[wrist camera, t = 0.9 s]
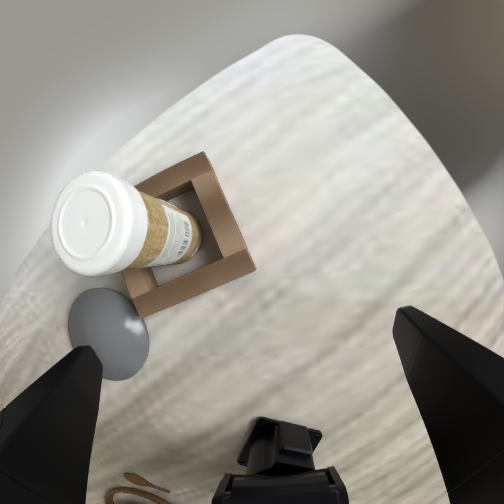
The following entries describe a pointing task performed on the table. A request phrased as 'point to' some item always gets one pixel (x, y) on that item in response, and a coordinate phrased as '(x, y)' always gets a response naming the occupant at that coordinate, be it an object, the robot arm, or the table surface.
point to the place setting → (136, 490)
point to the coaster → (110, 331)
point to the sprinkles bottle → (118, 227)
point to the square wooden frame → (223, 227)
